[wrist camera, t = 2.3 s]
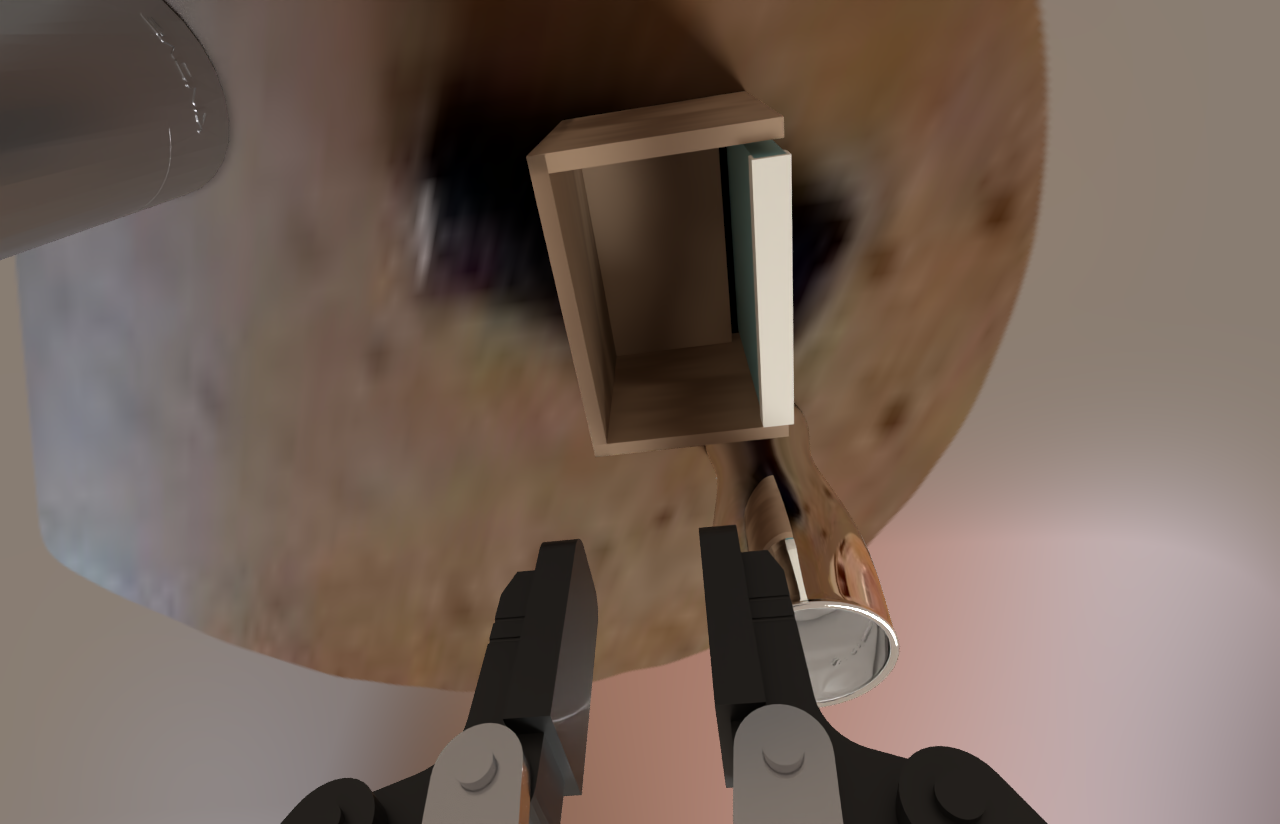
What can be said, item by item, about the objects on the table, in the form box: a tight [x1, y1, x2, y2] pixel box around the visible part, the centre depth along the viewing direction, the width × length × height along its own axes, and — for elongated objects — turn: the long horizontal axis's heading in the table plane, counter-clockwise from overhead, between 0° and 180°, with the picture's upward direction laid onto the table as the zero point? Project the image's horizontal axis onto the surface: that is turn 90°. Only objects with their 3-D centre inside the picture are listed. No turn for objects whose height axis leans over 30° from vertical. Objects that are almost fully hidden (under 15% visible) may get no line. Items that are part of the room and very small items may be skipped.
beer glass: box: [705, 405, 900, 707], centre depth 29 cm, size 7×7×15 cm
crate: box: [526, 91, 789, 457], centre depth 26 cm, size 8×12×9 cm
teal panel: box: [727, 140, 794, 427], centre depth 25 cm, size 1×10×9 cm, turn 8°
